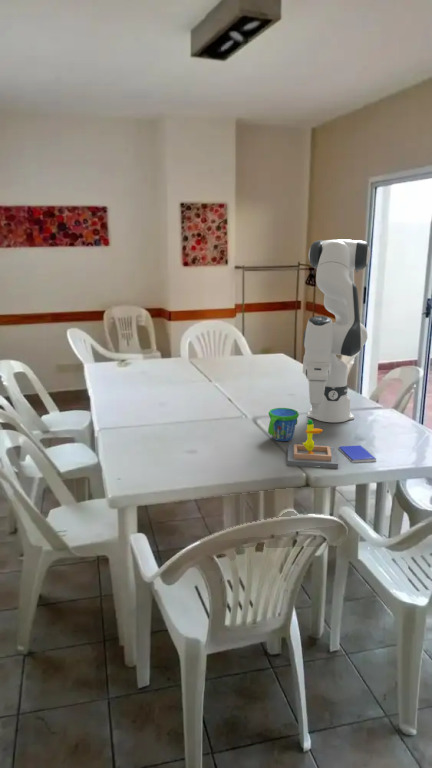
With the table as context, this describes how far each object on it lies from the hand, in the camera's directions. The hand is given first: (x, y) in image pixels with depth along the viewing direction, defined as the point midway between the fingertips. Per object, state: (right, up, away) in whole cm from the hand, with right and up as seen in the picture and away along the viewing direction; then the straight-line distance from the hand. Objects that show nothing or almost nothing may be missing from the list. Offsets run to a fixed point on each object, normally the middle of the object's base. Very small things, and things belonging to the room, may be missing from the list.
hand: (314, 409), depth 184 cm
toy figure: (0, -15, +3) cm, 16 cm away
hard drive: (+16, -17, +8) cm, 24 cm away
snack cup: (-8, -12, +22) cm, 26 cm away
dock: (0, -17, +4) cm, 17 cm away
